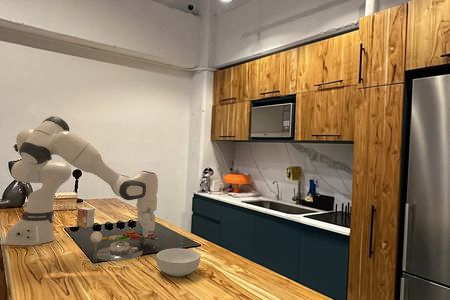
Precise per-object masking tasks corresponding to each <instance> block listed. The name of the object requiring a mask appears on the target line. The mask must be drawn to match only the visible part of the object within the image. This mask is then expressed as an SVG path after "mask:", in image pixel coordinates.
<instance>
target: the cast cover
mask: <svg viewBox="0 0 450 300" xmlns="http://www.w3.org/2000/svg"><path fill="white" fill-rule="evenodd" d="M129 246H130V243H129V242H127V241H125V240H124V241H121V240H115V242H112V243H110V246H109V247H110V254H112V255H125V254H128V253H129Z"/></svg>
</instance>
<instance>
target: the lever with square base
mask: <svg viewBox="0 0 450 300" xmlns="http://www.w3.org/2000/svg"><path fill="white" fill-rule="evenodd" d="M102 237H103V234H102V233H101V232H100V231H93V232H92V233H91V234H90V237H89V240H90V242H91V243H93V244H94V245H93V259H92V261H93V262H92V263H93V264H97V260H98V258H97V251H98V245H99V244H98V243H101V242H103V241H102Z"/></svg>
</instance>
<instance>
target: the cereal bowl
mask: <svg viewBox="0 0 450 300" xmlns="http://www.w3.org/2000/svg"><path fill="white" fill-rule="evenodd" d="M200 260H201V254H200V253H199V252H197V251H194V250H192V249H188V248H180V247H179V248H176V247H175V248H167V249H163V250H160V251H158V252H157V254H156V265H157V267H158V268H159V270H160V271H162V272H163V273H165V274H167V275H168V276H170V277H185V276H187V275H188V274H190V273H193V272H195V270H197V268H198V267H199V265H200V262H201V261H200Z"/></svg>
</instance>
